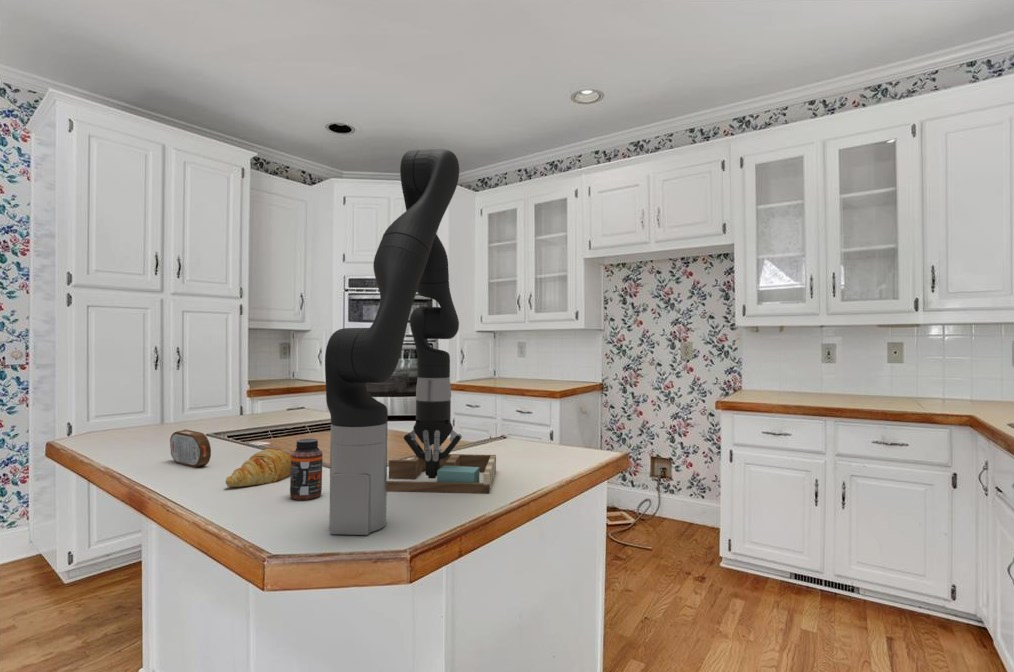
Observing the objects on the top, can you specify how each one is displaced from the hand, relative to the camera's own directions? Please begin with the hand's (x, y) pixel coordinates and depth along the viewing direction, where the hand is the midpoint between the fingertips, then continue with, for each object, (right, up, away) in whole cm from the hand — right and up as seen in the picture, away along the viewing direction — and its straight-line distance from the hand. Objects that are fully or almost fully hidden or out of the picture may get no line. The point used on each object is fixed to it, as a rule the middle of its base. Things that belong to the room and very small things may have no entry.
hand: (432, 477), depth 116 cm
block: (+6, -2, -2) cm, 6 cm away
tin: (-63, -2, +17) cm, 66 cm away
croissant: (-39, -2, +4) cm, 39 cm away
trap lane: (+1, -2, +4) cm, 4 cm away
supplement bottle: (-24, -1, -10) cm, 26 cm away
